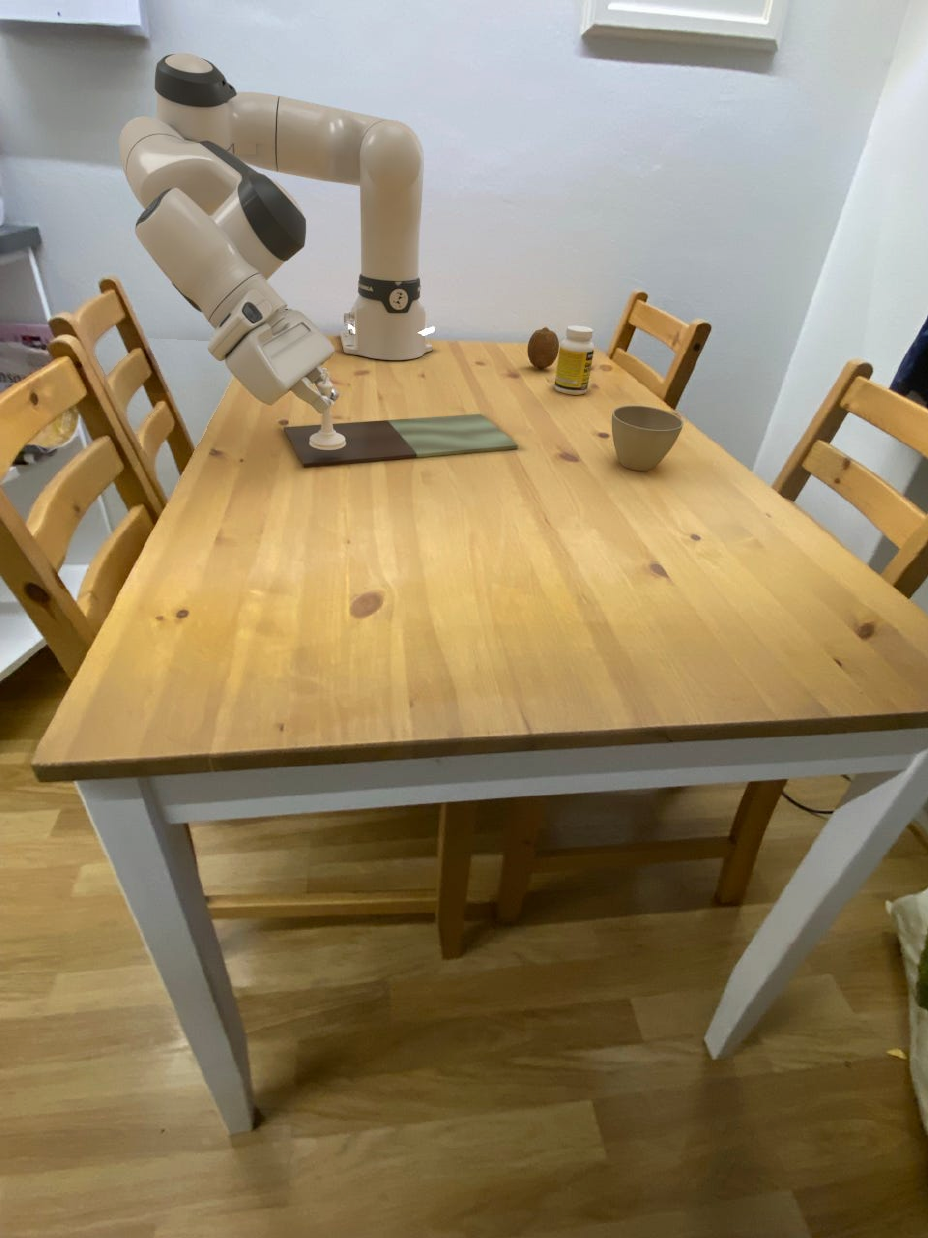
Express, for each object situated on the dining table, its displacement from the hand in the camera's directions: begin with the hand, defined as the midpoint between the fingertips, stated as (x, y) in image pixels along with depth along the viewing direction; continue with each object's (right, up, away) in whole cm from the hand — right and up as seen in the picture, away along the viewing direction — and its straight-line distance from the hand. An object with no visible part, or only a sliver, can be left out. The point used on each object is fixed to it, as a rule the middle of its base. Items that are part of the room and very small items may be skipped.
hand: (330, 405), depth 92 cm
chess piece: (-1, -4, +3) cm, 6 cm away
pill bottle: (+38, +14, +38) cm, 56 cm away
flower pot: (+43, -6, +10) cm, 45 cm away
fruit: (+33, +22, +49) cm, 63 cm away
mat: (+8, -2, +12) cm, 14 cm away
